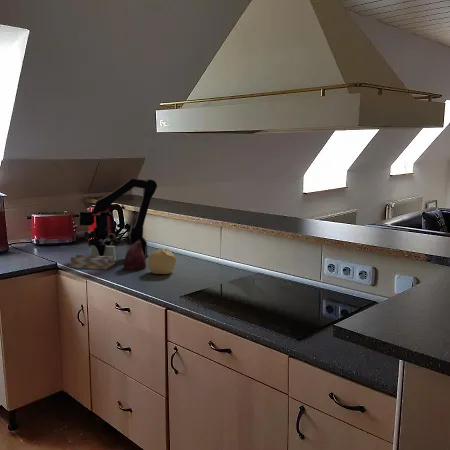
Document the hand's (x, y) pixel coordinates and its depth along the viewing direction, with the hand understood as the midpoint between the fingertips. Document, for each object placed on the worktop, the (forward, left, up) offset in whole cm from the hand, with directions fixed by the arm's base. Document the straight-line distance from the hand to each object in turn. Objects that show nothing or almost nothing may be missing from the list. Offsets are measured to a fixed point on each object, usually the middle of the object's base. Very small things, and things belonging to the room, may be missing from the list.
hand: (103, 256), depth 235 cm
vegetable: (-21, +12, -2) cm, 24 cm away
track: (0, +12, -2) cm, 12 cm away
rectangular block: (0, 0, -2) cm, 2 cm away
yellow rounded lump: (-36, +18, -2) cm, 40 cm away
